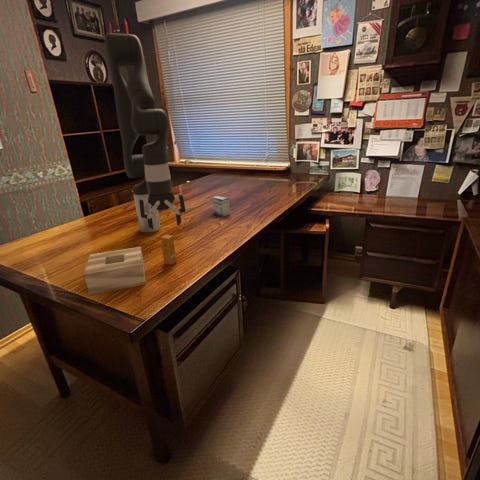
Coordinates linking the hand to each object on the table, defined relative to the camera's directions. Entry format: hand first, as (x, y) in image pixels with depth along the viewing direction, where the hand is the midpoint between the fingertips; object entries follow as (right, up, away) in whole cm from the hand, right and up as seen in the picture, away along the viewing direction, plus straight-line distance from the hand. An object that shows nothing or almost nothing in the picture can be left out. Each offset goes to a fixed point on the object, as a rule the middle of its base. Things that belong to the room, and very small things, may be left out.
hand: (165, 226), depth 100 cm
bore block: (-14, -17, -4) cm, 22 cm away
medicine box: (+15, +9, +54) cm, 57 cm away
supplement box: (+1, -13, +6) cm, 14 cm away
